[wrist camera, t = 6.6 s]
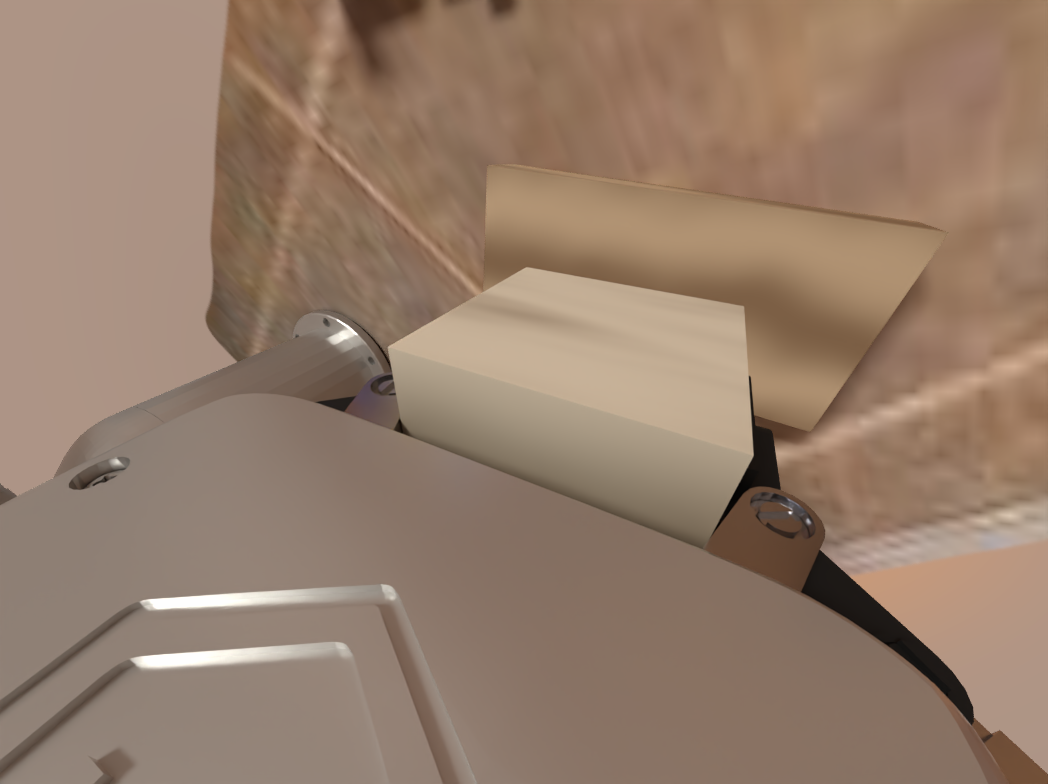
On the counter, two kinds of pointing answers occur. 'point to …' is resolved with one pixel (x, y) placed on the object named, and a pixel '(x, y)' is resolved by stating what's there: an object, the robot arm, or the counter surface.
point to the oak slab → (721, 267)
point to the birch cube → (589, 395)
